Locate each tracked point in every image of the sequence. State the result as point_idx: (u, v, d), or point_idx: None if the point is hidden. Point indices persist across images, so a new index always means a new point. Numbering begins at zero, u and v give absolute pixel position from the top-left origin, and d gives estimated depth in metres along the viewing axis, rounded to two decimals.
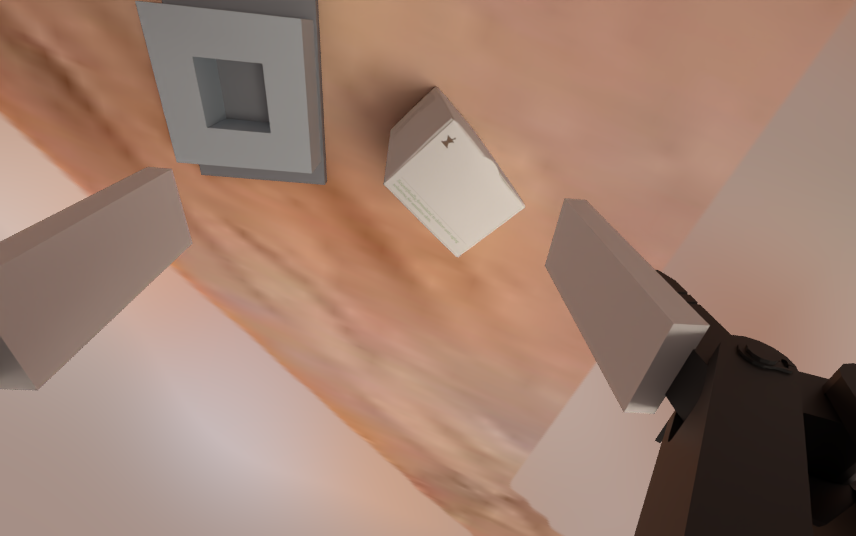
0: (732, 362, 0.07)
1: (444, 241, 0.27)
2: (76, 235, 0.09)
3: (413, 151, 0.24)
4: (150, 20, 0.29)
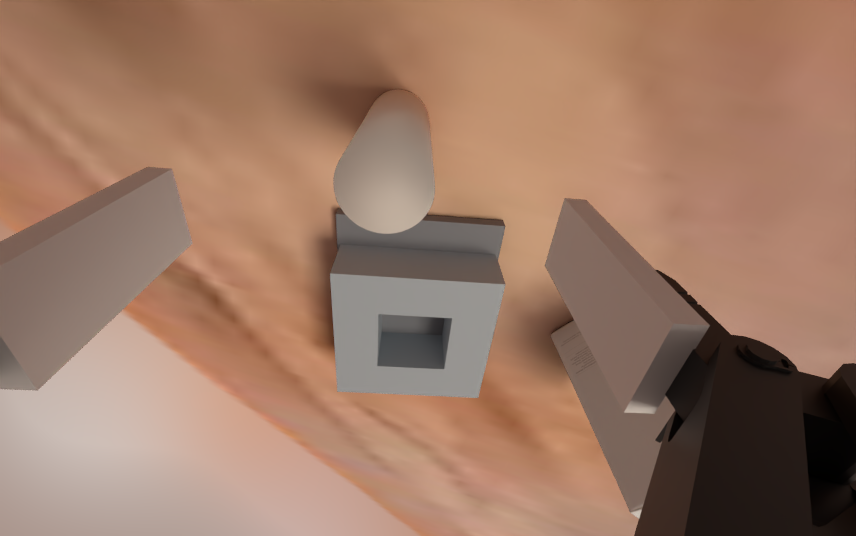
0: (732, 362, 0.07)
1: None
2: (76, 235, 0.09)
3: None
4: (341, 287, 0.26)
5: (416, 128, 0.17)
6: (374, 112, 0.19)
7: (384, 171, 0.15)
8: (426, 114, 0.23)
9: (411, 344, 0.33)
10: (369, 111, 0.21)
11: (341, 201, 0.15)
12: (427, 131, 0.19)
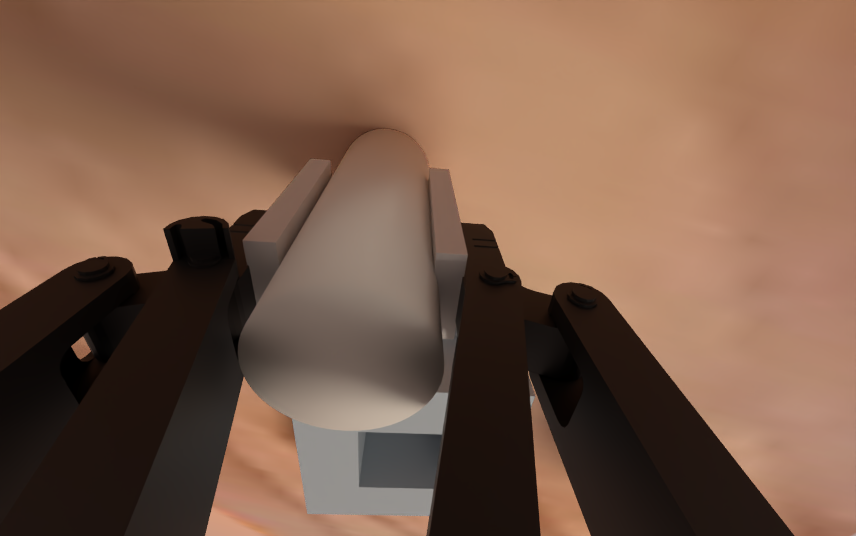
0: (476, 287, 0.08)
1: None
2: (303, 210, 0.11)
3: None
4: None
5: (408, 223, 0.10)
6: (339, 183, 0.11)
7: (341, 342, 0.07)
8: (425, 168, 0.15)
9: (404, 447, 0.25)
10: (336, 171, 0.13)
11: (260, 387, 0.08)
12: (427, 211, 0.12)
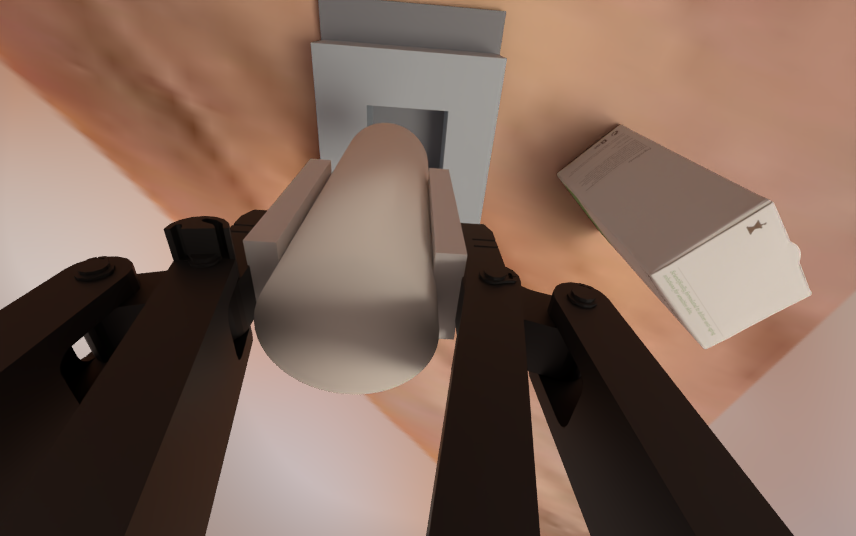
0: (476, 287, 0.08)
1: (697, 333, 0.22)
2: (303, 210, 0.11)
3: (698, 236, 0.19)
4: (324, 64, 0.24)
5: (407, 207, 0.10)
6: (343, 171, 0.12)
7: (347, 308, 0.08)
8: (424, 160, 0.16)
9: None
10: (340, 162, 0.14)
11: (272, 352, 0.09)
12: (425, 198, 0.13)
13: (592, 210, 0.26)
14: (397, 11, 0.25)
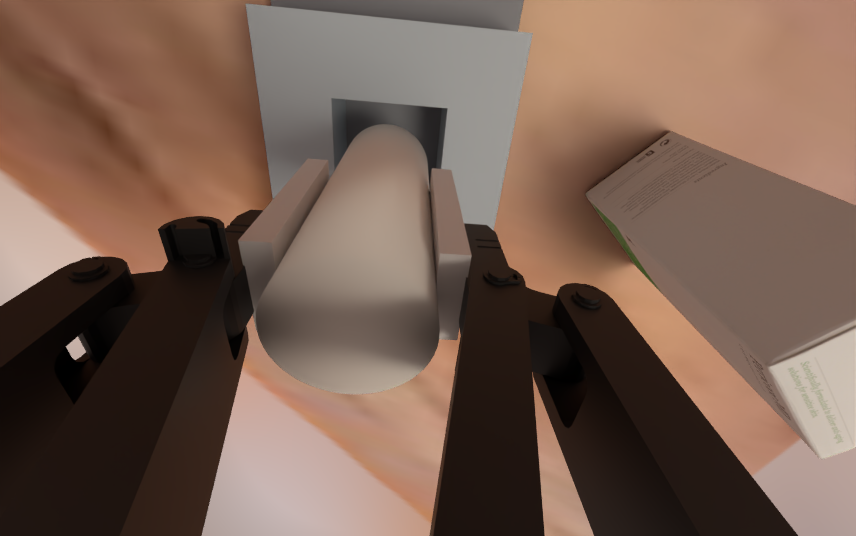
0: (480, 288, 0.08)
1: (816, 440, 0.15)
2: (300, 211, 0.11)
3: (850, 309, 0.12)
4: (268, 37, 0.16)
5: (407, 207, 0.10)
6: (343, 172, 0.12)
7: (348, 309, 0.08)
8: (423, 161, 0.16)
9: None
10: (340, 163, 0.14)
11: (274, 352, 0.09)
12: (425, 199, 0.13)
13: (645, 248, 0.19)
14: None
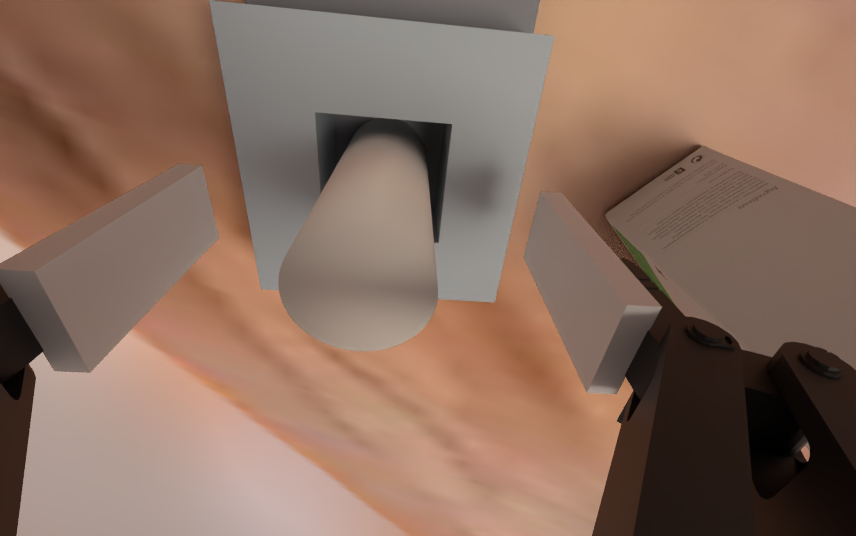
0: (681, 342, 0.07)
1: None
2: (123, 227, 0.09)
3: None
4: (237, 41, 0.13)
5: (409, 187, 0.12)
6: (350, 158, 0.13)
7: (358, 271, 0.09)
8: (422, 151, 0.17)
9: None
10: (345, 152, 0.15)
11: (293, 312, 0.10)
12: (424, 183, 0.14)
13: (682, 285, 0.16)
14: None
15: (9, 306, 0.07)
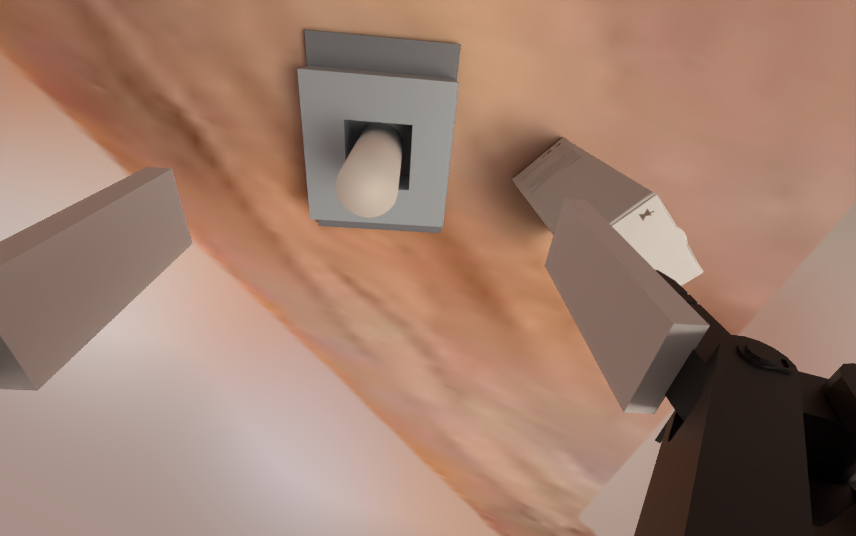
0: (732, 362, 0.07)
1: None
2: (76, 235, 0.09)
3: None
4: (308, 86, 0.28)
5: (388, 151, 0.27)
6: (361, 140, 0.28)
7: (366, 178, 0.24)
8: (399, 140, 0.32)
9: None
10: (358, 139, 0.30)
11: (340, 197, 0.25)
12: (397, 152, 0.29)
13: (534, 207, 0.31)
14: (370, 43, 0.31)
15: None
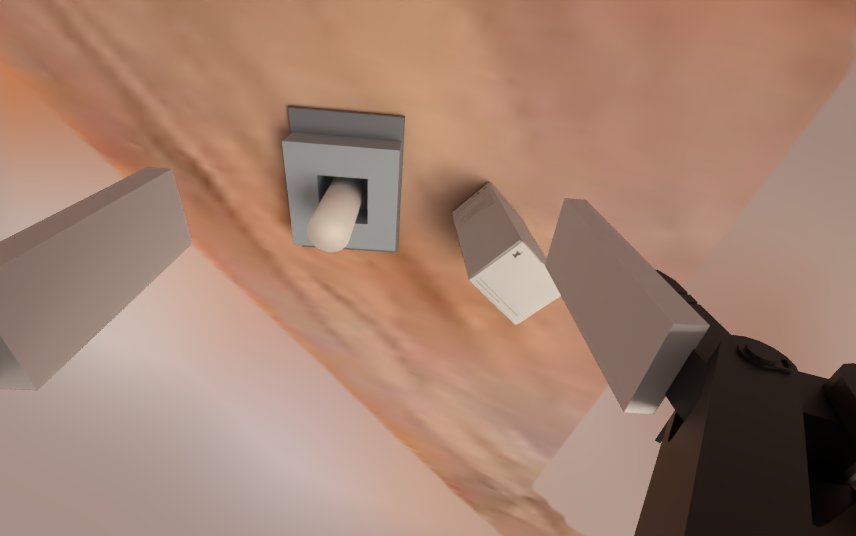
0: (732, 362, 0.07)
1: (507, 314, 0.38)
2: (76, 235, 0.09)
3: (491, 258, 0.35)
4: (290, 152, 0.39)
5: (345, 203, 0.37)
6: (328, 193, 0.39)
7: (327, 226, 0.35)
8: (360, 186, 0.43)
9: None
10: (328, 189, 0.41)
11: (310, 239, 0.36)
12: (354, 201, 0.40)
13: (459, 240, 0.42)
14: (337, 117, 0.41)
15: None
